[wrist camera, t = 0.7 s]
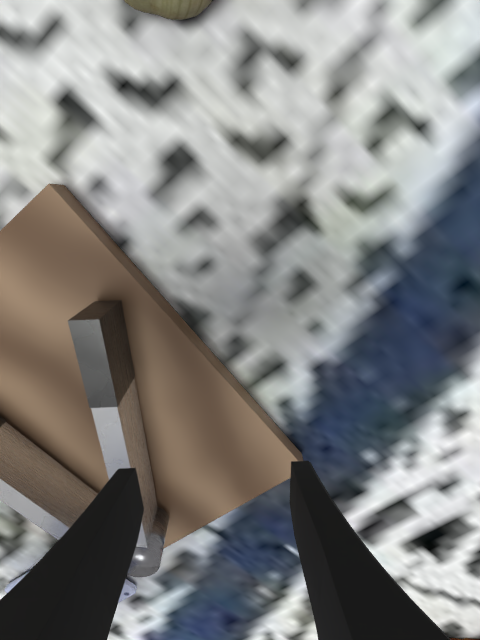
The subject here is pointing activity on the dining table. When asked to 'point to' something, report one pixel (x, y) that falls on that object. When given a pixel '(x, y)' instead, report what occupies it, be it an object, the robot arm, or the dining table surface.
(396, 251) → the dining table surface
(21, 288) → the walnut board
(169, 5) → the fennel bulb
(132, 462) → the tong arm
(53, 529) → the fixed tong arm
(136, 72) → the dining table surface
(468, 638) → the meat
